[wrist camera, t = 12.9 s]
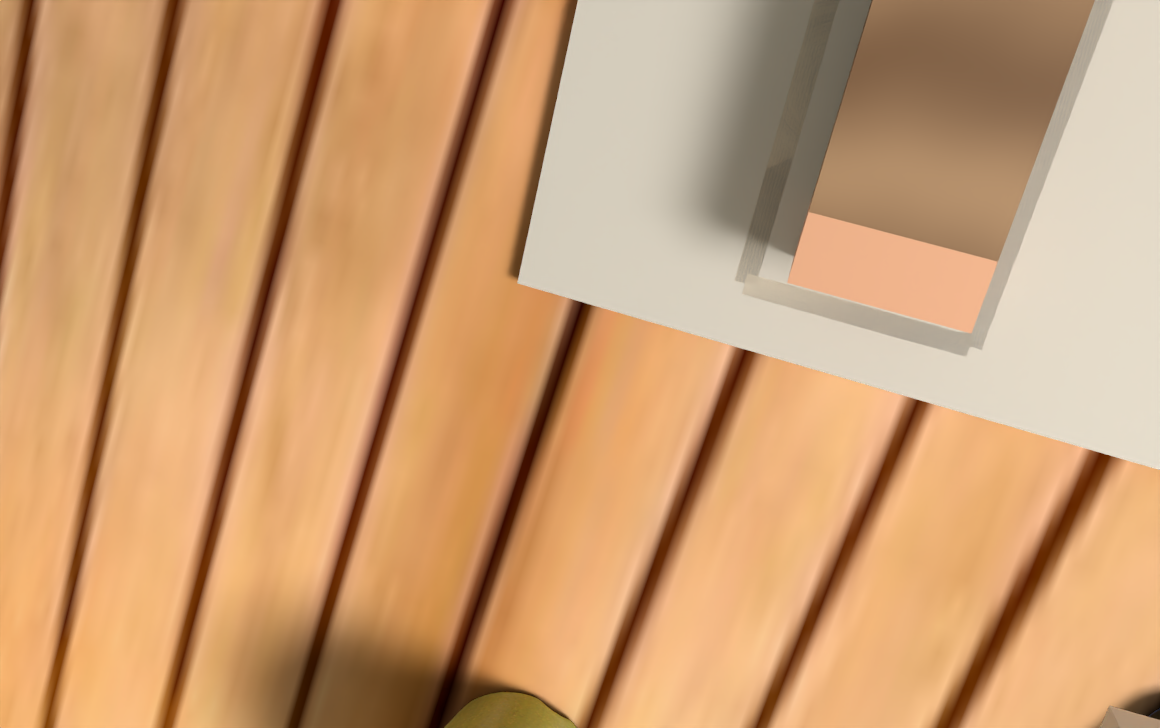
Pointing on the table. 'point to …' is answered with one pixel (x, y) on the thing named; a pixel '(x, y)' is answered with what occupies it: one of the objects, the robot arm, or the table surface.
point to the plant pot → (508, 713)
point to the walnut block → (934, 151)
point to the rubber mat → (783, 194)
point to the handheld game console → (1155, 714)
